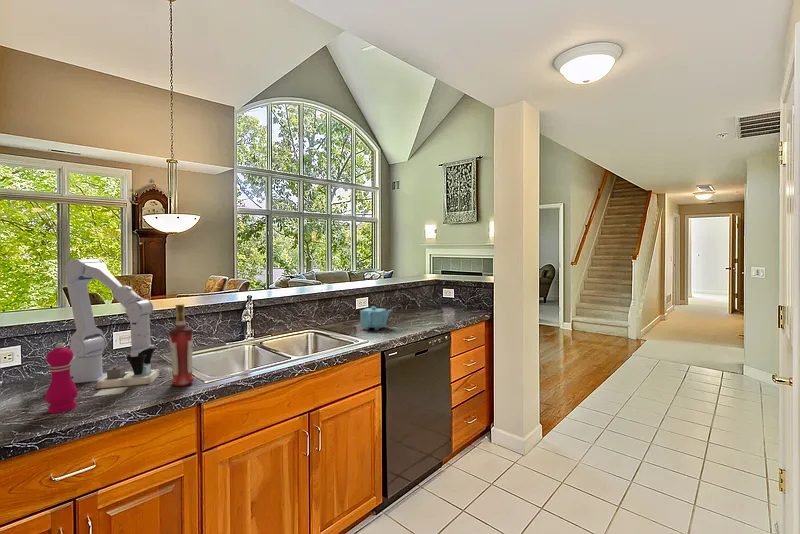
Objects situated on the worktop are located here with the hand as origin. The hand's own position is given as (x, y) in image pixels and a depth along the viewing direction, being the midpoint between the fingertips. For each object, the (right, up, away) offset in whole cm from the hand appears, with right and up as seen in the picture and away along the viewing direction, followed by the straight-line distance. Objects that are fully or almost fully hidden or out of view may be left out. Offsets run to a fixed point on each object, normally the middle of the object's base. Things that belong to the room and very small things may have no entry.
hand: (142, 371), depth 140 cm
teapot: (+80, +1, +88) cm, 119 cm away
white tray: (-4, -4, -1) cm, 5 cm away
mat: (-3, -4, -11) cm, 12 cm away
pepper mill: (-7, -5, -25) cm, 26 cm away
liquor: (+17, -4, -4) cm, 18 cm away
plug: (0, -3, 0) cm, 3 cm away
